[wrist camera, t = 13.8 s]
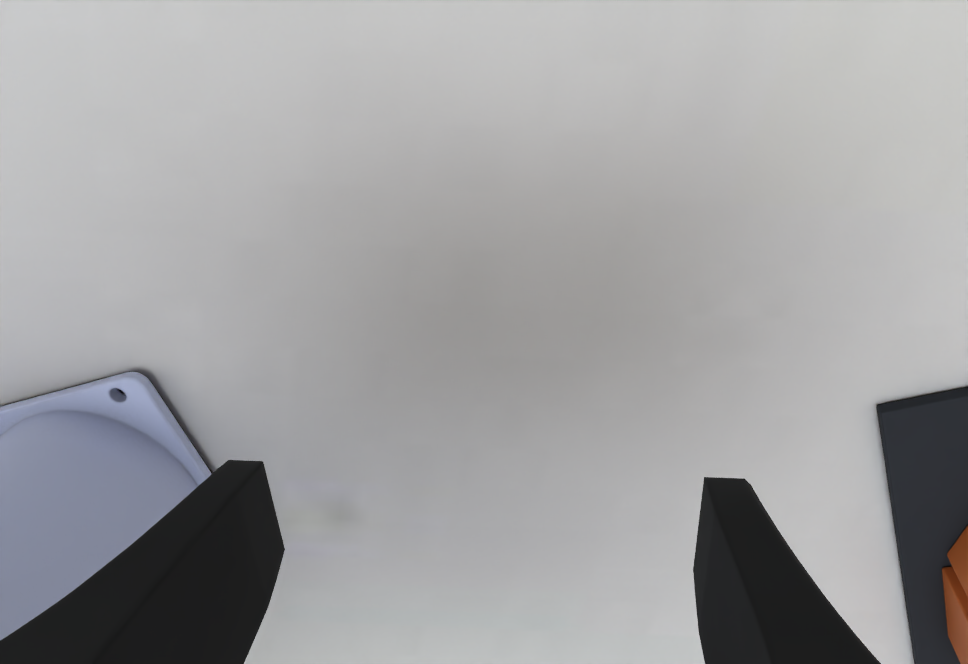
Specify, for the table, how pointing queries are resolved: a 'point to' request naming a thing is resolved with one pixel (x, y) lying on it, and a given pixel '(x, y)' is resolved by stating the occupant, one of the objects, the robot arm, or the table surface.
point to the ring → (957, 596)
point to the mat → (927, 506)
